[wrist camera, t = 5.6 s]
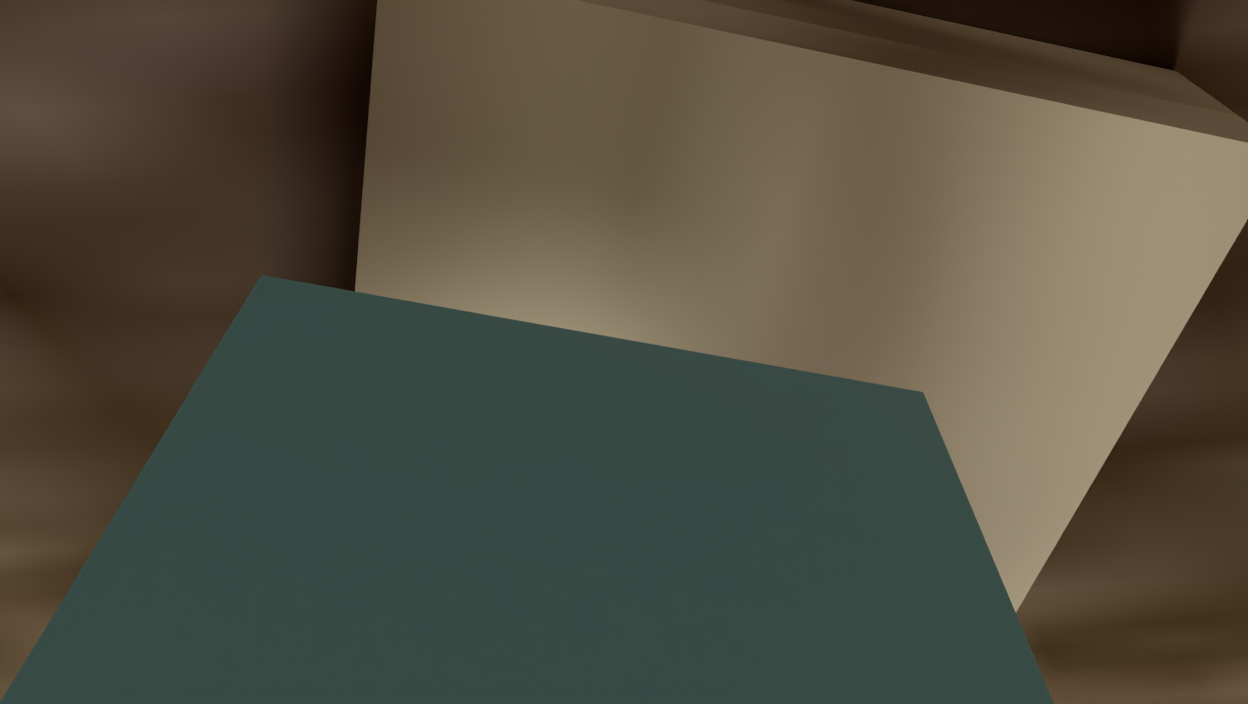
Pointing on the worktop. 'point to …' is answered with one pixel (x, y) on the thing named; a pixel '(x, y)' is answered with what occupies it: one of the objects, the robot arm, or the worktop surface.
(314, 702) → the teal cube box
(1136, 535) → the worktop surface
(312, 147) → the worktop surface
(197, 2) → the worktop surface
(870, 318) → the pallet dock
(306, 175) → the worktop surface
